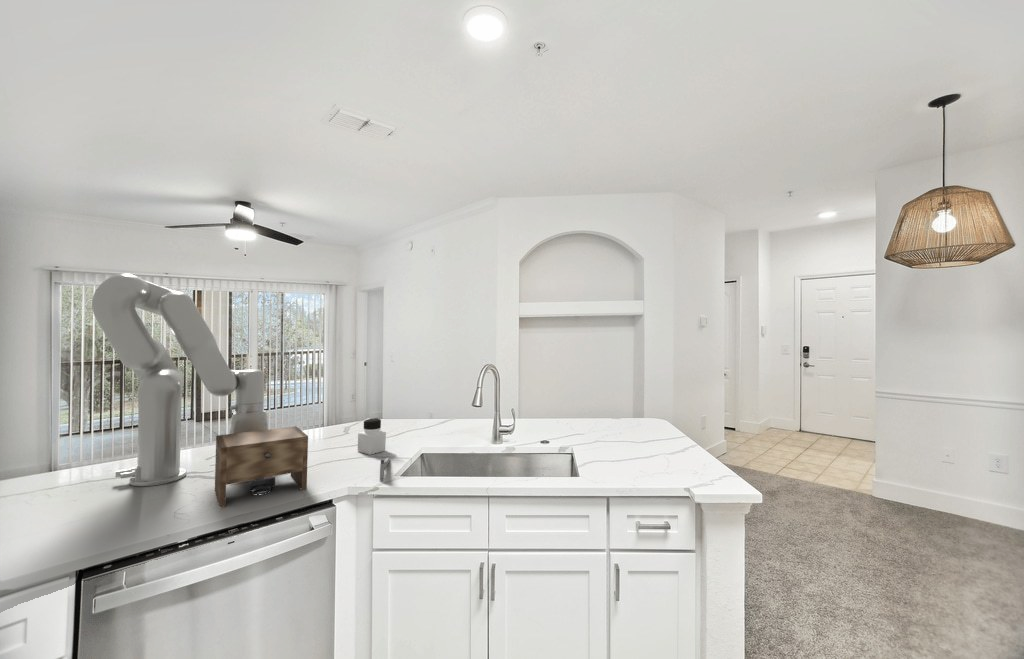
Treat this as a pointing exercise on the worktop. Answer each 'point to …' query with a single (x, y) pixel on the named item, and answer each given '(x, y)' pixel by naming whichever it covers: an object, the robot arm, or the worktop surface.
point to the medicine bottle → (371, 437)
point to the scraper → (262, 482)
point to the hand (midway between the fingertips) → (248, 464)
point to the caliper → (383, 467)
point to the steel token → (261, 490)
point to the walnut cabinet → (260, 457)
